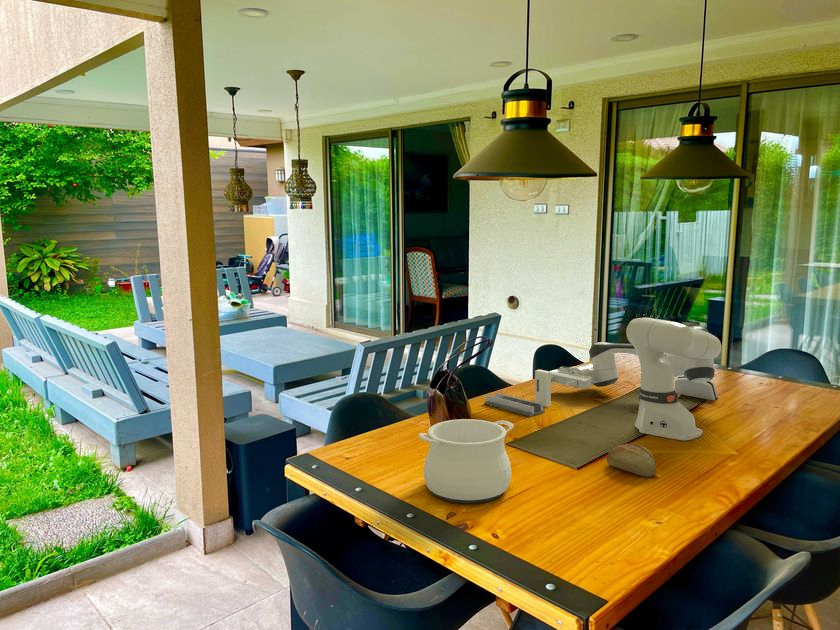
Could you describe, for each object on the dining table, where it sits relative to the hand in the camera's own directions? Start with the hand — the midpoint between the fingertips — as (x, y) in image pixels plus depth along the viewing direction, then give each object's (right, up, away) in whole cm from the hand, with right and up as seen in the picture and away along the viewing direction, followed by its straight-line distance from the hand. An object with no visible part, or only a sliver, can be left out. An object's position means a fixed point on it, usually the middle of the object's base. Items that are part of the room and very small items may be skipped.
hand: (557, 382), depth 267 cm
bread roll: (+6, -19, -75) cm, 78 cm away
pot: (-44, -21, -86) cm, 99 cm away
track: (-20, -9, -10) cm, 24 cm away
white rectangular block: (-7, -9, -6) cm, 12 cm away
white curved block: (+58, -6, +4) cm, 59 cm away
